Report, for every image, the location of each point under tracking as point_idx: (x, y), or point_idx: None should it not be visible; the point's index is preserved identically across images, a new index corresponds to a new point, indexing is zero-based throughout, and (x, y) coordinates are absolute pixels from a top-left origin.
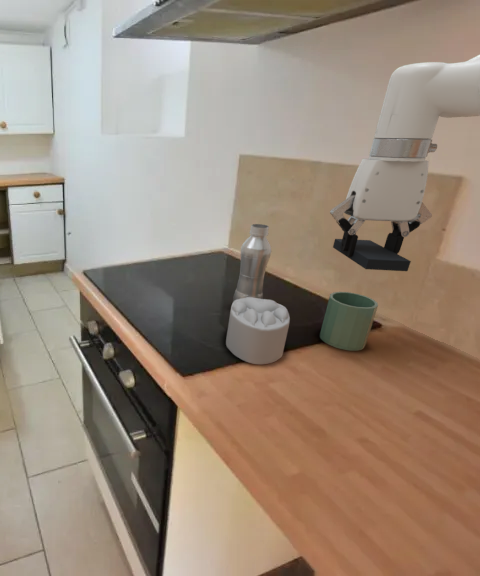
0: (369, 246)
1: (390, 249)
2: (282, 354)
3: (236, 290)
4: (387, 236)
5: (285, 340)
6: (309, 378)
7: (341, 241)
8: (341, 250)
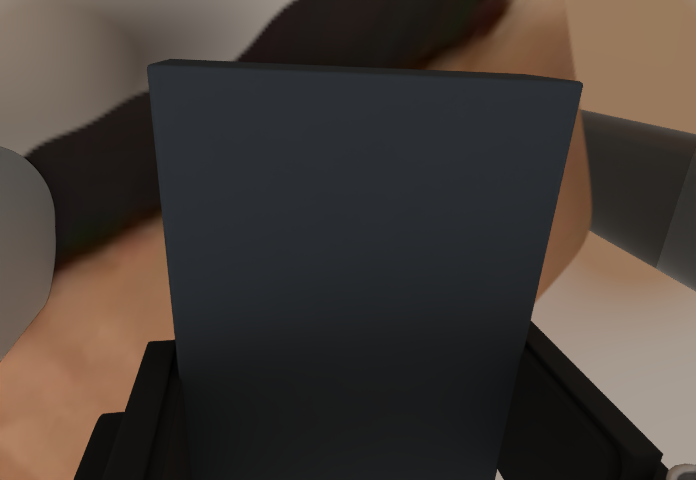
0: (407, 351)
1: (509, 438)
2: (45, 302)
3: None
4: (587, 437)
5: (19, 336)
6: (111, 390)
7: (186, 212)
8: (148, 348)
